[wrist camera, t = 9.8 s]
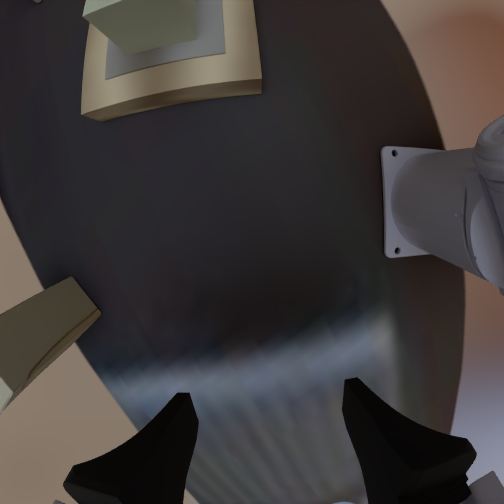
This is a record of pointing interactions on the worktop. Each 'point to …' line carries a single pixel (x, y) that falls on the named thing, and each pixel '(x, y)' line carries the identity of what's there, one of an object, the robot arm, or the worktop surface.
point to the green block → (143, 22)
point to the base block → (175, 65)
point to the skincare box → (40, 334)
